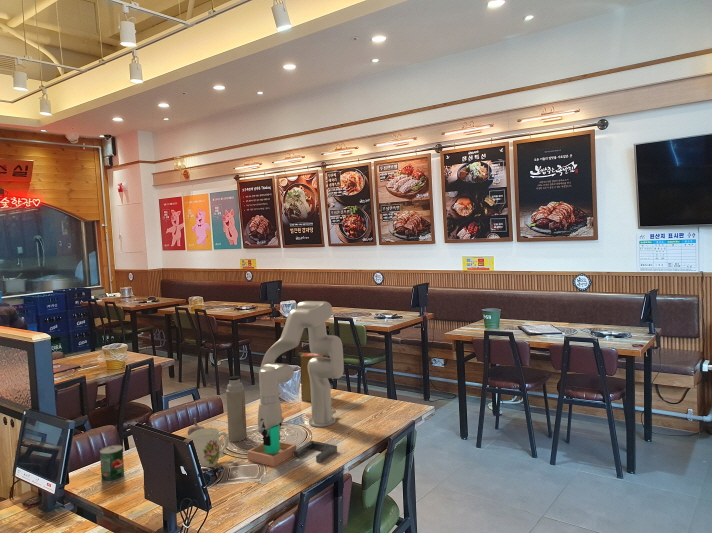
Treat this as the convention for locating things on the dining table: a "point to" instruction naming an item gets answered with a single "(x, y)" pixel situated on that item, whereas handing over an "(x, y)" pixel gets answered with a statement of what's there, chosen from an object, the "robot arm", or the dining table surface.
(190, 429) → the garlic bulb
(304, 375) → the food packaging
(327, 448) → the dock
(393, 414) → the dining table surface
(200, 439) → the pitcher
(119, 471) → the canned tomato
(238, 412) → the thermos bottle
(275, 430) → the candle
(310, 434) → the dining table surface
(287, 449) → the tray
